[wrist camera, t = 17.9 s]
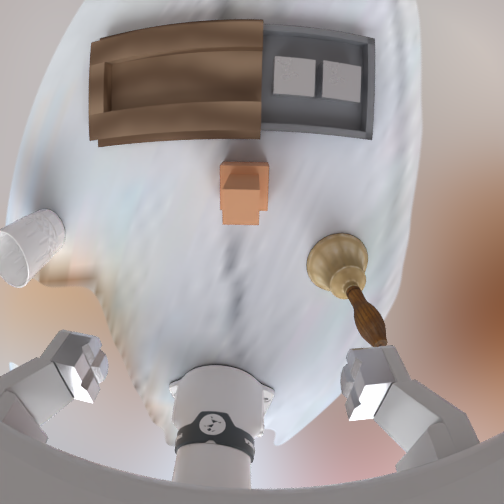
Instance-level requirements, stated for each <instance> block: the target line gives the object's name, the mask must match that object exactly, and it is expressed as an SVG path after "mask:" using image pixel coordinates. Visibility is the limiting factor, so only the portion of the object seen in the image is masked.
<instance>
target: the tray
mask: <svg viewBox="0 0 504 504" xmlns="http://www.w3.org/2000/svg"><path fill="white" fill-rule="evenodd" d="M275 56H280V57H292V58H302V59H311V60H316V64H315V91H314V97H313V98H310V99H304V98H293V97H280V96H272V80H273V61H274V58H275ZM323 60H325V61H332V62H338V63H344V64H349V65H355V66H360V67H361V92H360V103H354V104H349V103H342V102H335V101H328V100H320V99H316V91H317V65H319V64H320V63H321V62H322V61H323ZM374 97H375V39H373V38H369V37H365V36H360V35H355V34H350V33H344V32H339V31H333V30H326V29H319V28H311V27H302V26H291V25H276V24H263V50H262V91H261V102H262V104H261V131H285V132H301V133H314V134H325V135H335V136H344V137H352V138H360V139H368V140H372V135H373V119H374Z"/></svg>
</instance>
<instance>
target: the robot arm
mask: <svg viewBox="0 0 504 504" xmlns="http://www.w3.org/2000/svg"><path fill="white" fill-rule="evenodd" d="M101 346H102V344H101V341H100V339H99V338H98V337H96V336H92V335H87V334H83V333H78V332H72V331H67V330H61V331H59V332H58V333H57V335H56V336H55V337H54V339H53V340H52V341H51V343H50V344H49V345H48V347H47V348H46V350H45V351H44V352H43V354H42V355H41V356H40V358H37V357H36V358H34V359H32V360H30V361H29V362H27V363H25V364H23V365H21V366H19V367H17V368H15V369H13V370H12V371H10V372H8V373H6V374H4V375H2V376H0V504H504V432H502V433H500V434H498V435H496V436H494V437H492V438H490V439H488V440H486V441H484V442H481V443H480V442H479V440H478V438H477V436H476V433H475V431H474V429H473V427H472V425H471V423H470V421H469V419H468V417H467V415H466V413H464V412H463V411H461V410H460V409H458V408H457V407H455V406H454V405H452V404H451V403H449V402H448V401H446V400H445V399H443V398H442V397H440V396H439V395H437V394H436V393H435V392H433V391H432V390H430V389H429V388H427V387H426V386H424V385H423V384H421V383H420V382H418V381H417V380H411V378H410V376H409V374H408V372H407V370H406V368H405V366H404V364H403V362H402V360H401V358H400V356H399V354H398V352H397V350H396V348H395V347H394V346H393V345H390V346H379V347H369V348H356V349H350V350H349V351H348V353H347V356H346V359H347V363H348V364H346V365H345V366H344V367H343V369H342V373H341V381H340V383H341V390H342V394H343V395H344V396H345V397H346V398H348V399H347V401H346V404H345V406H346V410H347V414H348V419H349V421H351V420H361V419H370V418H374V421H375V422H376V423H377V424H378V425H379V426H380V427H382V428H383V430H385V432H386V433H387V434H388V435H389V436H390V437H391V438H392V439H393V440H394V441H395V442H396V443H397V444H398V445H399V446H400V447H401V448H402V449H403V450H404V451H406V454H405V455H404V456H403V457H402V459H401V460H400V461H399V462H398V463H397V464H396V470H397V472H396V473H392V474H388V475H384V476H379V477H374V478H370V479H365V480H359V481H354V482H347V483H340V484H333V485H324V486H315V487H303V488H286V489H285V488H284V489H251V463H252V462H253V459H254V454H255V448H254V439H255V438H256V437H262V435H263V431H264V416H265V414H266V412H267V410H268V408H269V406H270V404H271V402H272V400H273V398H274V390H273V389H271V388H269V387H267V386H264V385H262V384H261V383H259V382H258V381H257V380H256V379H255V378H254V377H253V376H251V375H250V374H248V373H246V372H244V371H242V370H240V369H237V368H233V367H229V366H221V365H209V366H202V367H198V368H195V369H193V370H191V371H189V372H188V373H187V374H185V376H184V377H183V378H182V379H180V380H178V381H175V382H173V383H171V384H170V386H169V391H170V392H171V394H172V396H173V397H174V399H175V402H174V408H173V414H172V423H174V425H175V427H176V428H177V429H178V430H179V431H178V434H177V438H176V441H175V453H176V454H177V456H176V461H175V467H174V472H173V478H172V481H166V480H161V479H156V478H151V477H147V476H142V475H138V474H134V473H129V472H126V471H122V470H118V469H114V468H111V467H108V466H104V465H101V464H98V463H94V462H91V461H88V460H86V459H83V458H80V457H77V456H74V455H72V454H69V453H67V452H64V451H62V450H59V449H56V448H54V447H52V446H50V445H47V444H46V442H47V440H48V436H47V435H46V433H45V432H44V431H43V430H42V429H41V427H40V426H42V425H43V424H44V423H45V422H47V421H48V420H49V419H50V418H52V417H53V416H54V415H55V414H57V413H58V412H59V411H60V410H62V409H63V408H64V407H65V406H67V405H68V404H69V403H70V402H72V401H73V400H74V399H78V400H82V401H86V402H91V403H94V401H95V399H96V397H97V395H98V393H99V391H100V387H99V383H101V382H102V381H104V380H105V378H106V376H107V373H108V360H107V357H106V354H104V353H103V351H101V349H100V348H101Z"/></svg>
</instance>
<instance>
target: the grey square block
mask: <svg viewBox="0 0 504 504" xmlns="http://www.w3.org/2000/svg"><path fill="white" fill-rule="evenodd" d="M360 92H361V67H360V66H355V65H349V64H344V63H338V62H332V61H325V60H323V61H322V62H321V63H320V64H319V65H317V91H316V99H320V100H328V101H335V102H342V103H349V104H354V103H360Z"/></svg>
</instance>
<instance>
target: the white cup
mask: <svg viewBox="0 0 504 504" xmlns="http://www.w3.org/2000/svg"><path fill="white" fill-rule="evenodd" d="M64 241H65V229H64V226H63V224H62V221H61V220H60V218H59V217H58V216H57V214H56V213H54V212H53V211H51V210H49V209H41V210H39V211H37V212H35V213H33V214H30V215H27V216H25V217H23V218H21V219H18V220H17V221H15V222H13V223H11V224H9V225H7V226H5V227H3V228H2V229H0V276H1V277H2V278H3V279H4V280H5V281H6V282H7V283H8V284H10V285H11V286H13V287H17V288H21V287H24V286H25V285H26V284H27V283H28V282H29V281H30V280H31V279H32V278H33V277H34V276H35V275H36V274H37V273H38V272H39V271H40V270H41V269H42V268H43V267H44V265H45V264H46V263H47V262H48V261H49V260H50V259H51V258H52V257H53V255H54V254H55V253H56V252H58V251H59V250H60V249H61V248H62V246H63V244H64Z"/></svg>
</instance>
